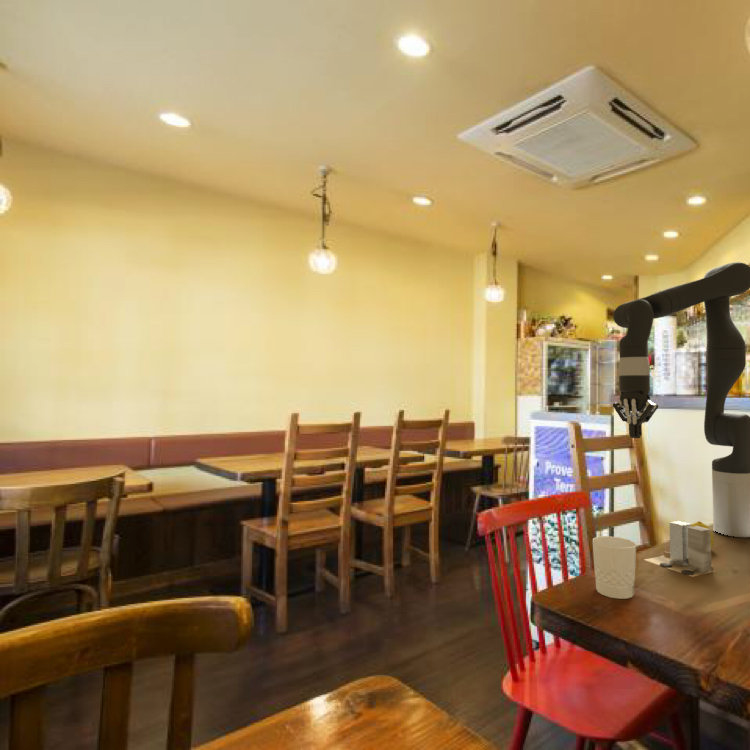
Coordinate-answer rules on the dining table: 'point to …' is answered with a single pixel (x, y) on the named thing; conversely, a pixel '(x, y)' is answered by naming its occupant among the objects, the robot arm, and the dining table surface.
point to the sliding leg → (679, 543)
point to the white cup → (614, 566)
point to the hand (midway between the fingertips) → (635, 437)
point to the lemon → (703, 527)
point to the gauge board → (692, 554)
